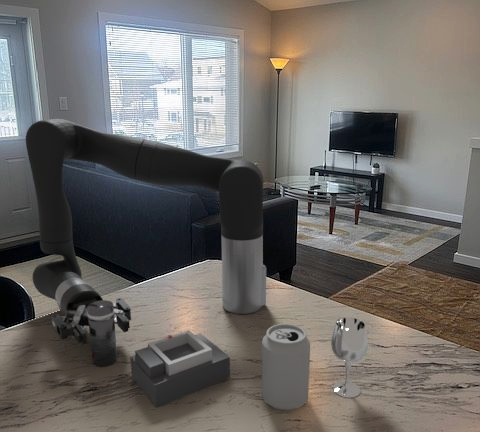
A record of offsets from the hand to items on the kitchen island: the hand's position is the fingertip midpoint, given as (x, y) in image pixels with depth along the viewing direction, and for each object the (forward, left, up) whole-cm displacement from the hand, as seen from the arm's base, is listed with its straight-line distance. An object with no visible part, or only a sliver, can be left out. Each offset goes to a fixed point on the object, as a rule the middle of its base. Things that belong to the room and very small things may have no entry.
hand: (106, 333), depth 85 cm
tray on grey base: (-9, +11, -7) cm, 16 cm away
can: (-20, +26, -7) cm, 33 cm away
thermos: (0, -2, -7) cm, 7 cm away
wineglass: (-30, +30, -7) cm, 43 cm away
